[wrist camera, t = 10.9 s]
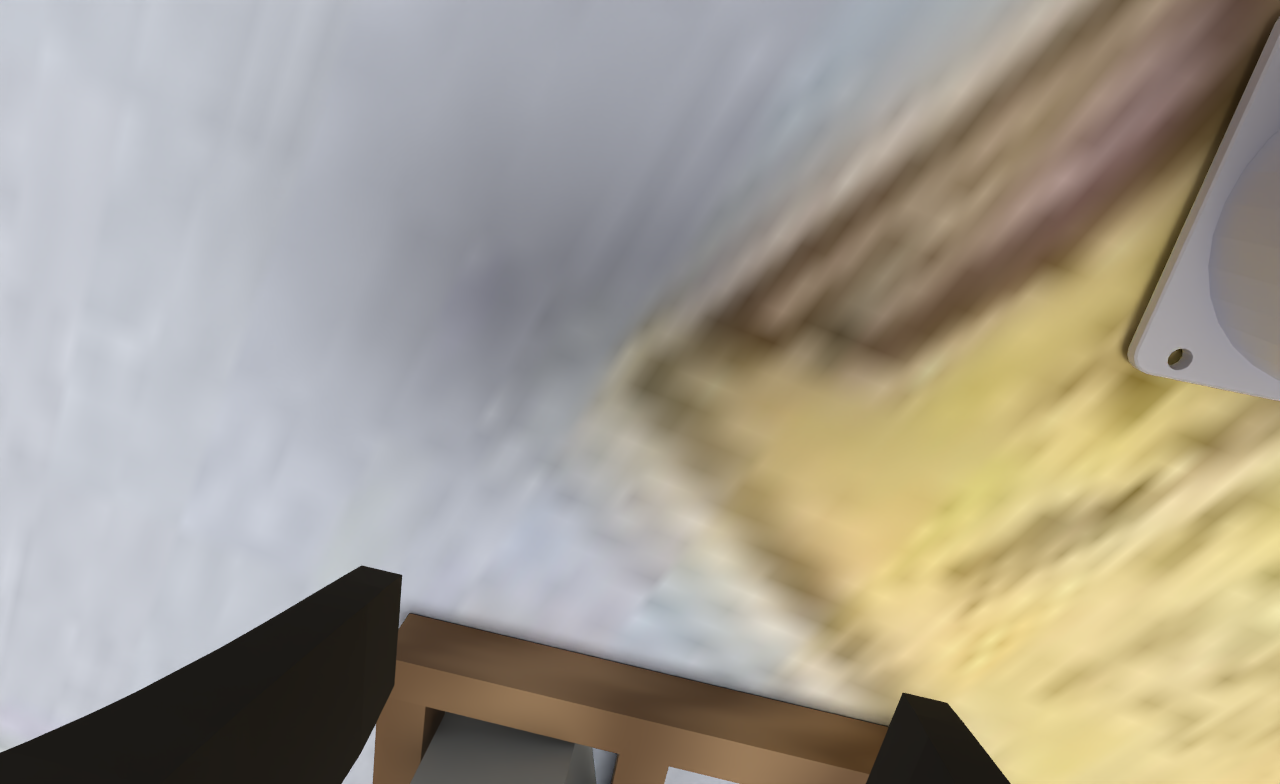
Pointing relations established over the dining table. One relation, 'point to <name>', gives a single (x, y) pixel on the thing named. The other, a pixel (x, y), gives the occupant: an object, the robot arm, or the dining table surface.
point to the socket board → (608, 713)
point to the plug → (501, 756)
